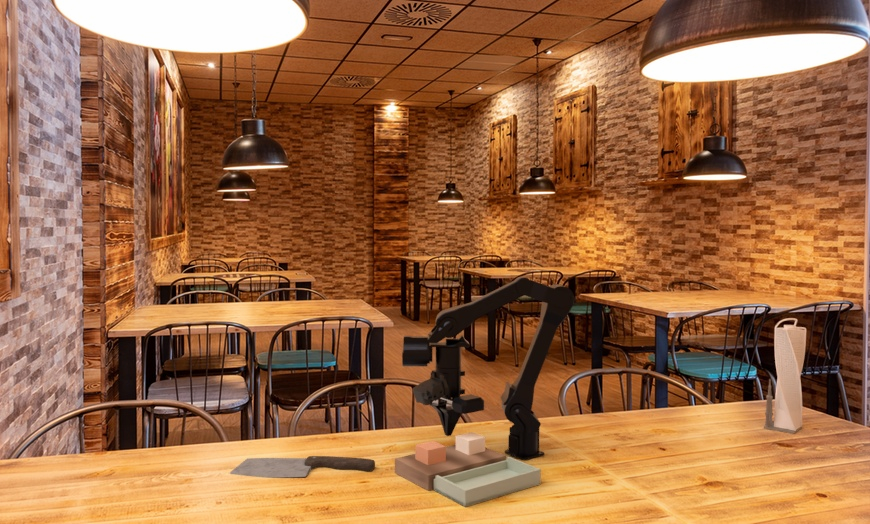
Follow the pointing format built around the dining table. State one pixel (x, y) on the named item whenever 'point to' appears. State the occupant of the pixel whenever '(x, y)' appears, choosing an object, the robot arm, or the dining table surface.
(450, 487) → the tray
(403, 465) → the plate
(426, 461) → the salmon pink cube
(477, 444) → the pale pink cube
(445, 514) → the dining table surface
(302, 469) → the cleaver
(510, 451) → the robot arm
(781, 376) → the skyscraper
